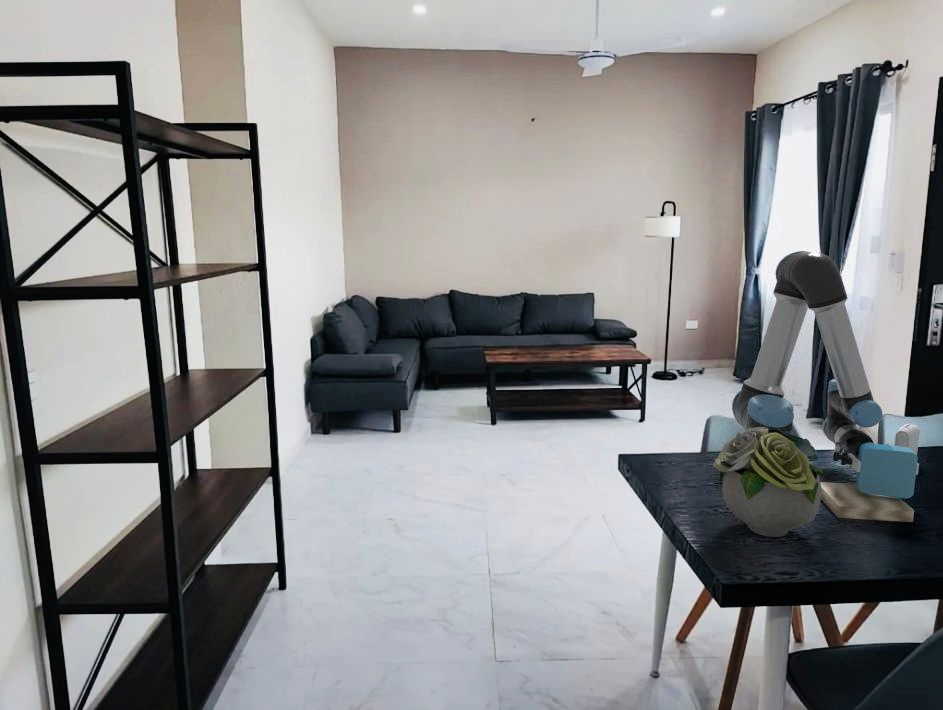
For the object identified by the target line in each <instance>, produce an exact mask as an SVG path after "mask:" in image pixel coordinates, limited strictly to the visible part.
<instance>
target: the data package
mask: <svg viewBox="0 0 943 710" xmlns="http://www.w3.org/2000/svg"><path fill="white" fill-rule="evenodd" d="M858 460H860V461H861V468H860V472H856V478H855V479H856V480H855V484H857V486H858V489H859V490H860V491H861V492H862V493H867V494H874V495H882V496H890V497H898V498H900V499H910V498H911V497H913V495H914V493H915V485H916V476H917V475H916V470H917V463H918V460H919V459H918V454H917V455H916V454H915V452H914V451H913V450H912V449H911V448H909V447H900V446H894V445H890V444H888V445H885V444H879V443H874V444H871V443H864V444H862V445H861V446H860V449H859V458H858Z"/></svg>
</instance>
